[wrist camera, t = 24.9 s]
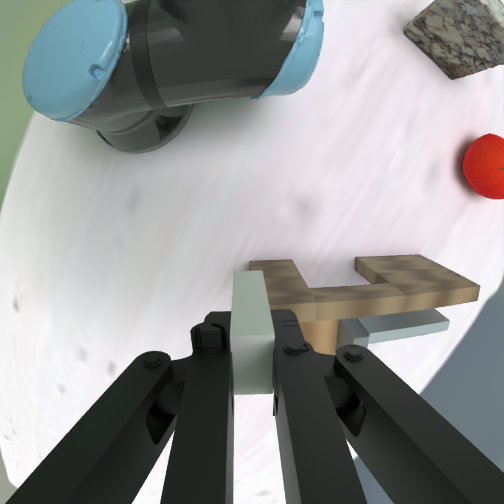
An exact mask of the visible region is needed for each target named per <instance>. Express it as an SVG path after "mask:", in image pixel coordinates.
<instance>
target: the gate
mask: <svg viewBox="0 0 504 504" xmlns="http://www.w3.org/2000/svg"><path fill="white" fill-rule="evenodd" d="M449 322H450V320H449V319H447V318H446V317H445V316H443V315H442V314H441V313H440V312H438V311H437V310H436V309H434V308H432V309H425V310H418V311H410V312H403V313H395V314H387V315H378V316H369V317H359V318H349V319H339V323H338V332H337V341H336V350H337V349H338V348H339V347H341V346H344V345H349V344H354V345H360V346H363V347H365V348H367V346H368V344H370V343H377V342H384V341H391V340H397V339H403V338H409V337H415V336H420V335H425V334H431V333H436V332H441V331H446V330H448V326H449ZM336 350H335V353H336Z"/></svg>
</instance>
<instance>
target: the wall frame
mask: <svg viewBox="0 0 504 504" xmlns="http://www.w3.org/2000/svg"><path fill="white" fill-rule="evenodd" d="M250 265H251V271H257V270H262V271H263V276H264V281H265V286H266V292H267V297H268V302H269V307H270V310H272V309H290V310H291V311H293V312H294V313H295V314H296V316H297V319H298V322H312V321H326V320H338V319H349V318H359V317H369V316H378V315H387V314H395V313H403V312H410V311H418V310H425V309H432V308H438V307H444V306H451V305H457V304H462V303H468V302H474V301H477V300H478V295H479V290H480V285H478V284H476V283H474V282H472V281H470V280H469V279H467V278H465V277H463V276H461V275H459V274H457V273H455V272H453V271H451V270H449V269H447V268H445V267H443V266H442V265H440V264H438V263H436V262H434V261H431V260H429V259H427V258H425V257H423V256H421V255H397V256H373V257H356V260H355V270H356V271H357V272H358V273H359V274H360V275H361V276H363V277H364V278H365V279H366V280H367V281H368V282H370V283H371V284H370V285H356V286H340V287H324V288H308V286H307V285H306V283H305V281H304V280H303V278H302V276H301V275H300V273H299V271H298V269H297V268H296V266H295V264H294V263H293V261H292V260H264V261H250Z"/></svg>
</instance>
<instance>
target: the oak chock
mask: <svg viewBox="0 0 504 504" xmlns="http://www.w3.org/2000/svg"><path fill="white" fill-rule="evenodd" d="M338 323H339V319H338V320H326V321H312V322H299V326H300V328H301V330H302V333H303V336H304V339H305V341H307V342H308V343H310V344H311V345H312V347H313V349H314V351H315V352H318V353H322V354H330V355H335V350H336V341H337V332H338Z"/></svg>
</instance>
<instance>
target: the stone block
mask: <svg viewBox="0 0 504 504" xmlns="http://www.w3.org/2000/svg"><path fill="white" fill-rule="evenodd" d="M404 34H405V35H406V36H407V37H408V38H409V39H410V40H411V41H412V42H413V43H415V44H416V45H417V46H418V47H419V48H420V49H421V50H422V51H423V52H424V53H425V54H426V55H427V56H428V57H430V58H431V59H432V60H433V61H434V62H435V63H436V64H437V65H438V66H439V67H440V68H441V69H442V70H443V71H444V72H445V73H446V74H447V75H448V77H449V78H450V79H453V80H454V79H457V78H461V77H465V76H467V75H471V74H474V73H477V72H480V71H483V70H486V69H488V68H493V67H495V66H497V65H503V64H504V4H503V3H502V2H501V1H500V0H435V1H433V2H432V3H431V4H430V5H429V6H427V7H426V8H425V9H424V10H423V11H422V12H420V13H419V14H418V15H417V16H416V17H415V18H414V19H413V20H412V21H411V22H410V23H409V24H408V25H407V27H406V28H405V29H404Z"/></svg>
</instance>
